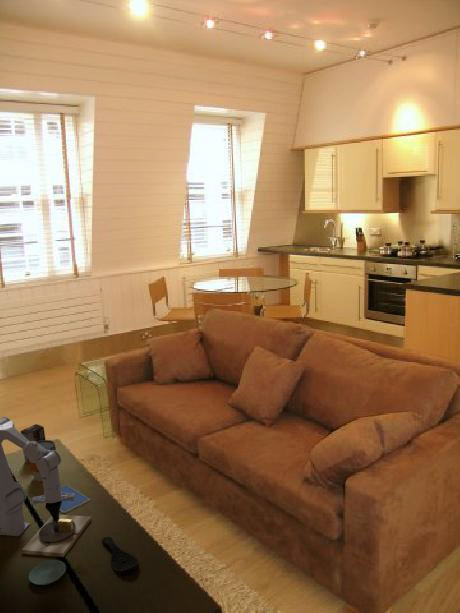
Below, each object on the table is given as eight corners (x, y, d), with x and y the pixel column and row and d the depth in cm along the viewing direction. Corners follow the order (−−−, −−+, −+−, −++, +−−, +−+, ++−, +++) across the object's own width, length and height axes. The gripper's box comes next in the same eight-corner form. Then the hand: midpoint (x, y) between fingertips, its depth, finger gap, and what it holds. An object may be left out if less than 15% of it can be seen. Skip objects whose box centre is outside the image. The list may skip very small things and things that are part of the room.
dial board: (22, 553, 193) (21, 549, 192) (53, 517, 214) (53, 513, 213) (63, 557, 190) (62, 552, 189) (91, 520, 211) (90, 516, 210)
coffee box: (40, 453, 270) (36, 423, 266) (48, 456, 266) (44, 426, 263) (24, 461, 262) (19, 430, 259) (32, 464, 259) (28, 433, 255)
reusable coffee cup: (38, 469, 254) (34, 439, 251) (63, 469, 252) (59, 439, 249) (25, 483, 242) (20, 452, 239) (51, 483, 240) (47, 452, 237)
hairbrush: (114, 528, 201) (142, 559, 180) (115, 537, 201) (144, 569, 180) (92, 536, 196) (119, 570, 175) (94, 546, 197) (121, 580, 176)
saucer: (57, 560, 188) (56, 555, 188) (73, 576, 179) (72, 570, 179) (24, 578, 180) (22, 572, 180) (38, 595, 172) (37, 589, 171)
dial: (32, 541, 196) (30, 529, 195) (50, 520, 209) (48, 509, 208) (65, 543, 194) (64, 531, 193) (81, 522, 206) (80, 510, 205)
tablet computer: (40, 499, 229) (40, 496, 229) (67, 486, 238) (66, 483, 238) (64, 515, 216) (63, 512, 216) (91, 501, 225) (91, 498, 225)
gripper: (74, 477, 198) (78, 511, 200) (34, 481, 197) (39, 515, 199) (70, 488, 191) (75, 522, 193) (28, 491, 190) (33, 526, 192)
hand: (56, 519), depth 196 cm, fingers closed
